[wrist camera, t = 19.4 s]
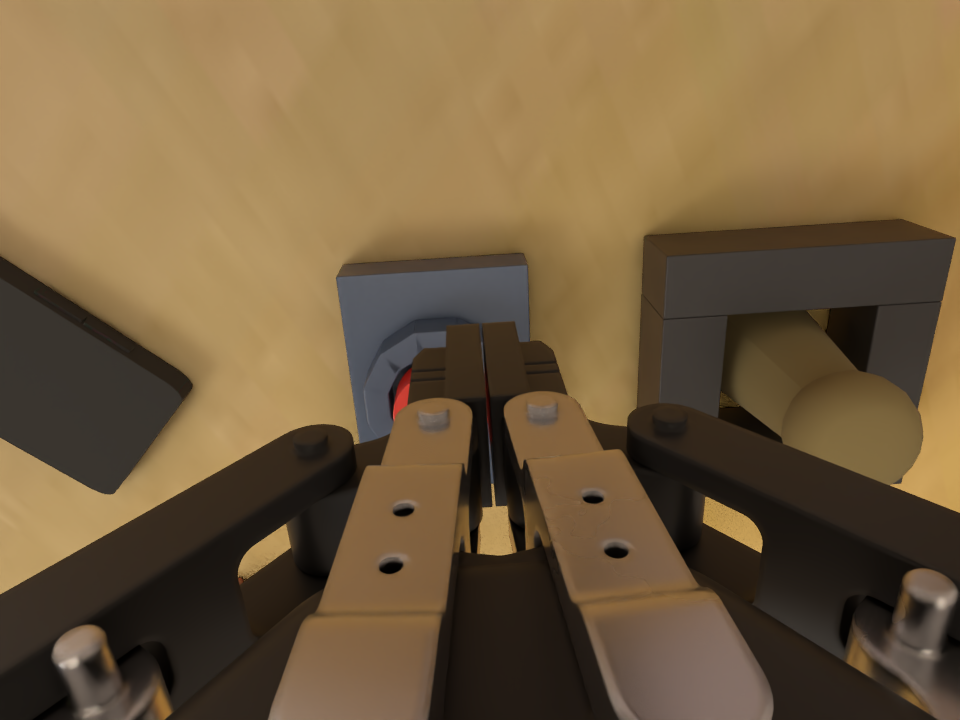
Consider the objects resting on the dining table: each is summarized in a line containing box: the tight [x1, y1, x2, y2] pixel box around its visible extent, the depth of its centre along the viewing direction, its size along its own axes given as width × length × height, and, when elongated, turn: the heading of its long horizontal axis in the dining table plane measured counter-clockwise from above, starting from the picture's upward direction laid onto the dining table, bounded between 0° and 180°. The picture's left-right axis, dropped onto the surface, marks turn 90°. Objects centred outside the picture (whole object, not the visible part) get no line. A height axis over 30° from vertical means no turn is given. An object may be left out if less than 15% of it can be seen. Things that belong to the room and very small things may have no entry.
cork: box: [721, 310, 923, 486], centre depth 32 cm, size 6×6×11 cm
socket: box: [637, 219, 956, 497], centre depth 35 cm, size 13×13×4 cm
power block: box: [336, 253, 530, 484], centre depth 35 cm, size 12×9×4 cm
